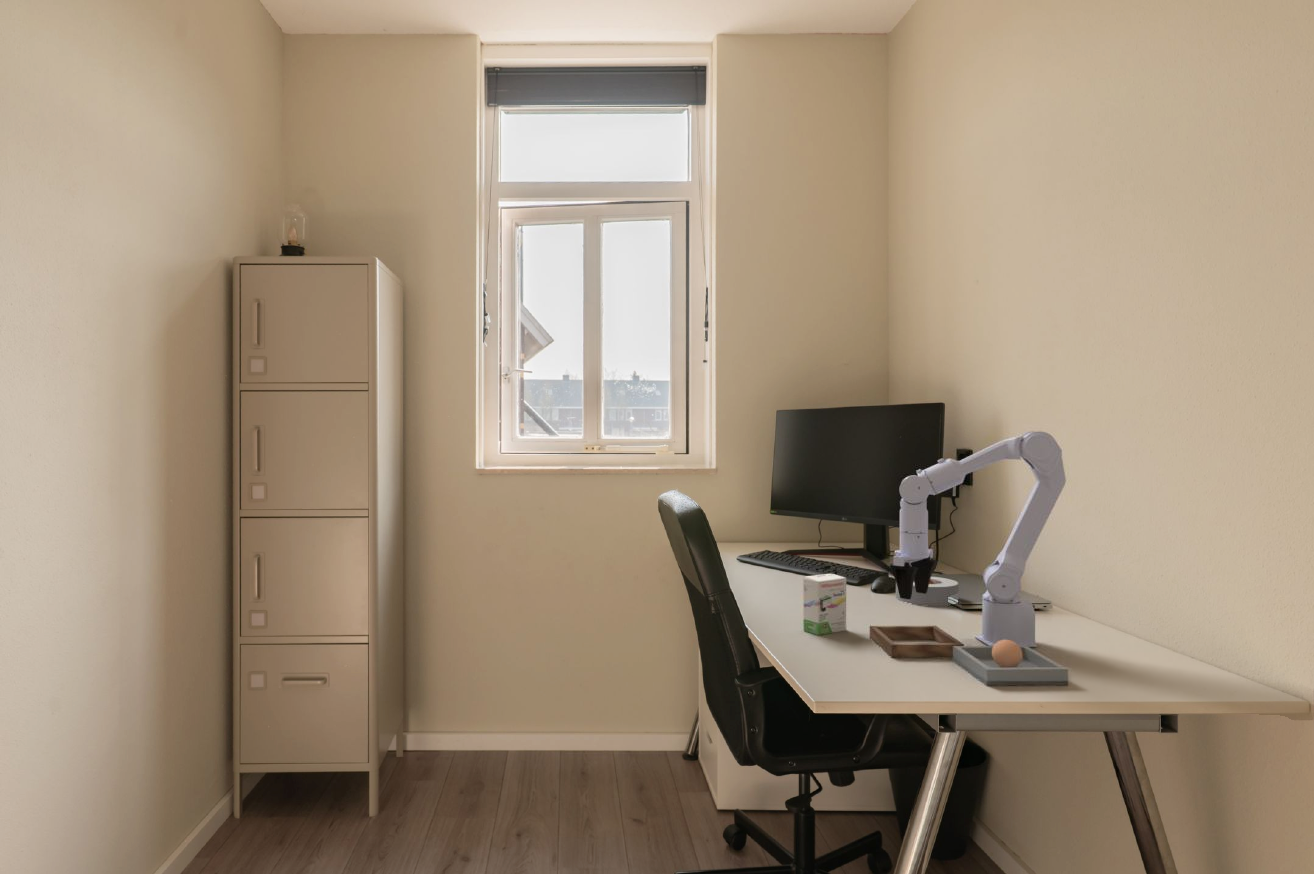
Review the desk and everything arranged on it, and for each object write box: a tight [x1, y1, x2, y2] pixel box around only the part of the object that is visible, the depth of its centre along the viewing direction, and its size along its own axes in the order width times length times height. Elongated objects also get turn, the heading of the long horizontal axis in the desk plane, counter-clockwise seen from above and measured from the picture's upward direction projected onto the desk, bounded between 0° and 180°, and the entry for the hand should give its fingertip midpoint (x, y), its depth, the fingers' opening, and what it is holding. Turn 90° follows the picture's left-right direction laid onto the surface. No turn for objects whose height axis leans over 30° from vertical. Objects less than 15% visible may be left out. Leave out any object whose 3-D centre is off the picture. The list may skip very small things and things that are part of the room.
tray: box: [952, 645, 1069, 687], centre depth 135 cm, size 14×14×3 cm
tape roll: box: [895, 576, 960, 607], centre depth 194 cm, size 15×15×5 cm
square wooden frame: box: [869, 625, 965, 658], centre depth 151 cm, size 14×14×2 cm
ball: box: [992, 640, 1022, 668], centre depth 135 cm, size 5×5×5 cm
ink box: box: [802, 573, 847, 636], centre depth 163 cm, size 8×5×12 cm, turn 121°
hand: (913, 595), depth 160 cm, fingers open, 7 cm apart
